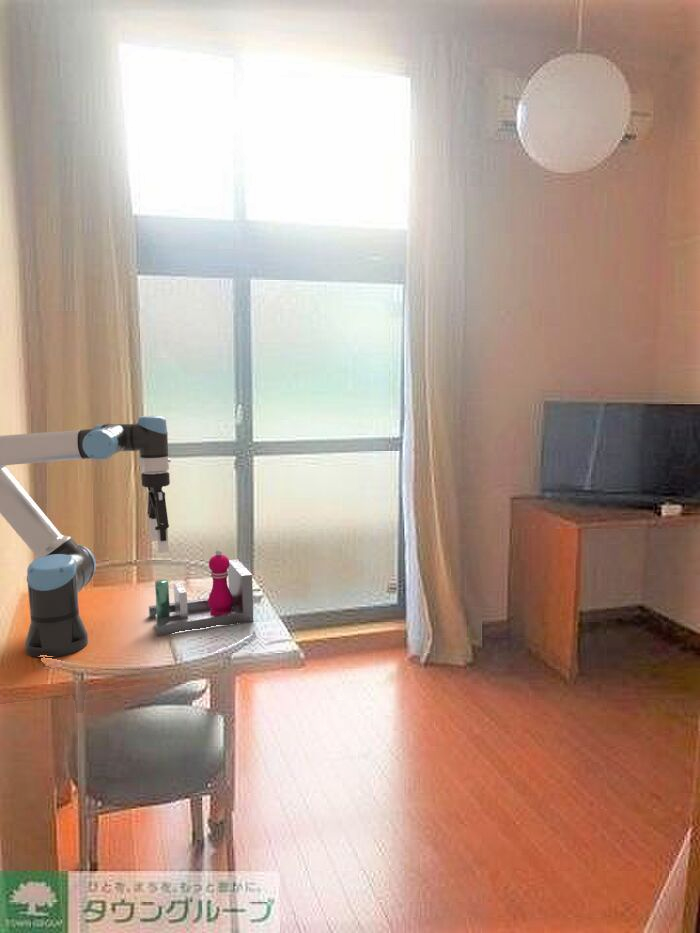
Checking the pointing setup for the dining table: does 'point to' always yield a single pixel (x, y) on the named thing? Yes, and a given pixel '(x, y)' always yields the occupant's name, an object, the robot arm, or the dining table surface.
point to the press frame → (241, 605)
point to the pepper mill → (219, 585)
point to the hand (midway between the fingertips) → (159, 546)
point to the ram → (163, 602)
